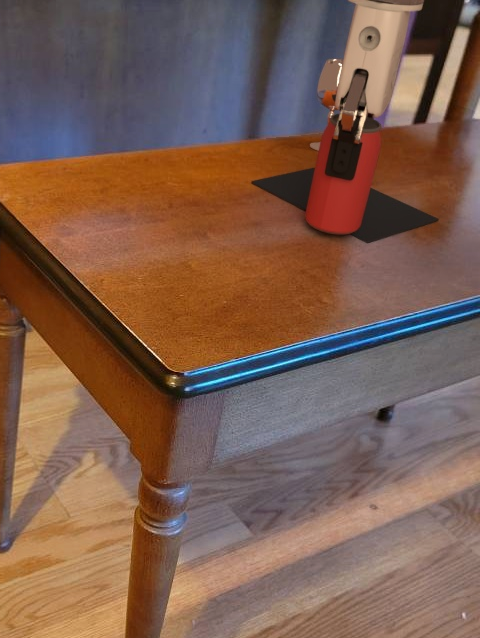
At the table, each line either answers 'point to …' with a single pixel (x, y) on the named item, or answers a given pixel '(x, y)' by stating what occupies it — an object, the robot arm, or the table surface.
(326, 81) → the wineglass
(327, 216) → the beer can
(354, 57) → the robot arm
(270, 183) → the mat
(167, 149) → the table surface
